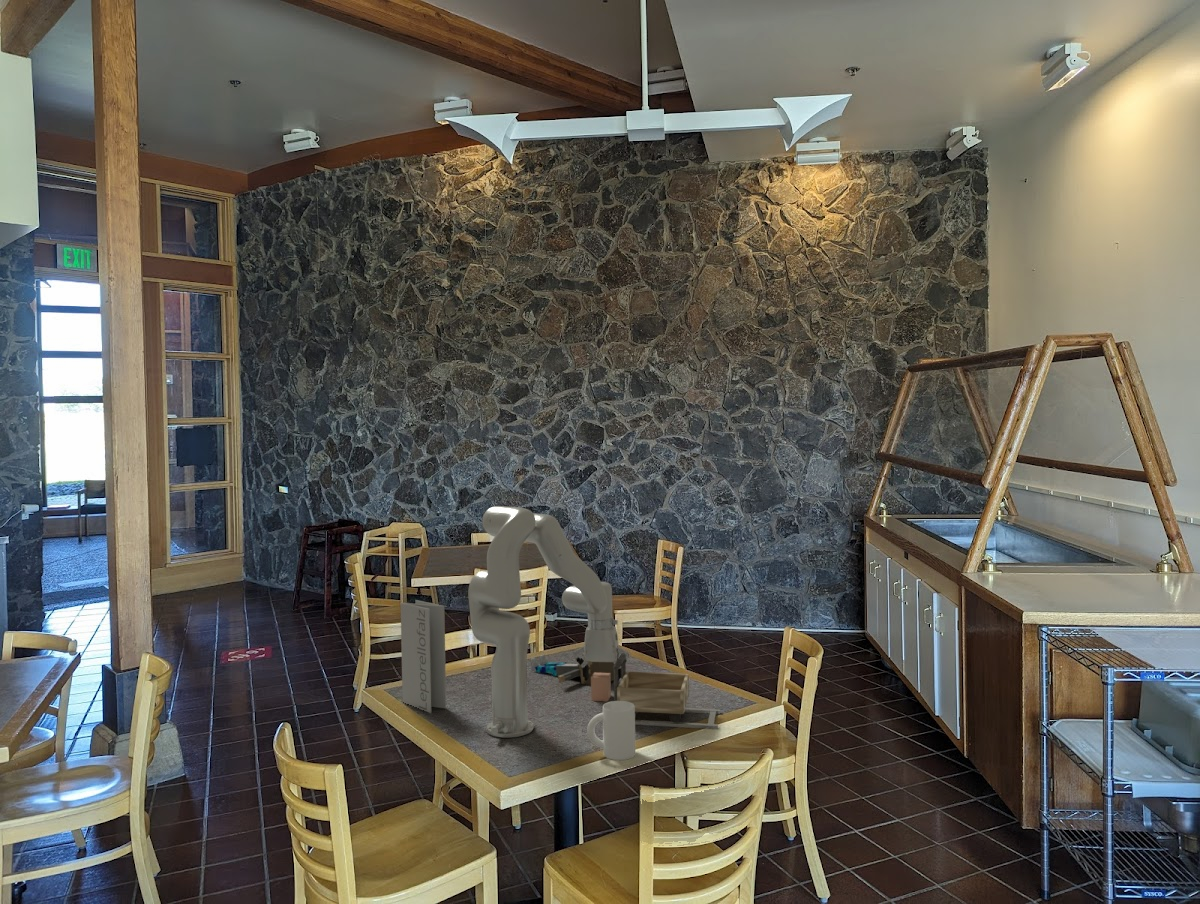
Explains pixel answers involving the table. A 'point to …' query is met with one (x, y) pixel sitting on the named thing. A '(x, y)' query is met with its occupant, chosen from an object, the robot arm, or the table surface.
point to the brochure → (423, 655)
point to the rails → (689, 725)
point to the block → (600, 686)
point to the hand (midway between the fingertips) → (602, 679)
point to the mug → (615, 730)
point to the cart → (652, 690)
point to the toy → (571, 669)
